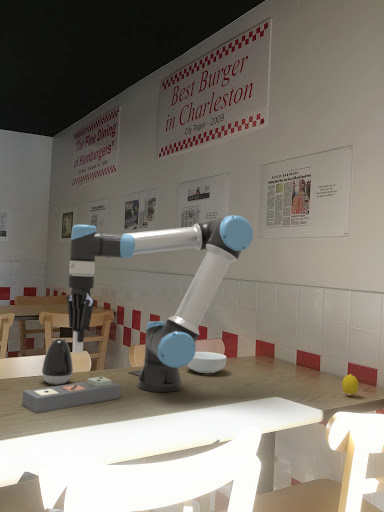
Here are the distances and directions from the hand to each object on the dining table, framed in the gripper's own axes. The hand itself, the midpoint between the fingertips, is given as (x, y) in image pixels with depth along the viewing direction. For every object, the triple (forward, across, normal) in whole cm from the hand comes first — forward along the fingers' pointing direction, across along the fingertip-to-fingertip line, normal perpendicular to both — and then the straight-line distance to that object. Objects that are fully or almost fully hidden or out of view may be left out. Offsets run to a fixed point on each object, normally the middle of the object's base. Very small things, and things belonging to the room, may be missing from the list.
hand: (77, 352), depth 147 cm
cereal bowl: (+16, -7, +64) cm, 66 cm away
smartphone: (+16, -18, +43) cm, 49 cm away
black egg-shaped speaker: (+15, -22, +5) cm, 27 cm away
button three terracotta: (+13, 0, -1) cm, 13 cm away
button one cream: (+13, 0, -10) cm, 17 cm away
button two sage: (+12, 0, +8) cm, 15 cm away
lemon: (+16, +46, +83) cm, 97 cm away
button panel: (+15, 0, -1) cm, 15 cm away
